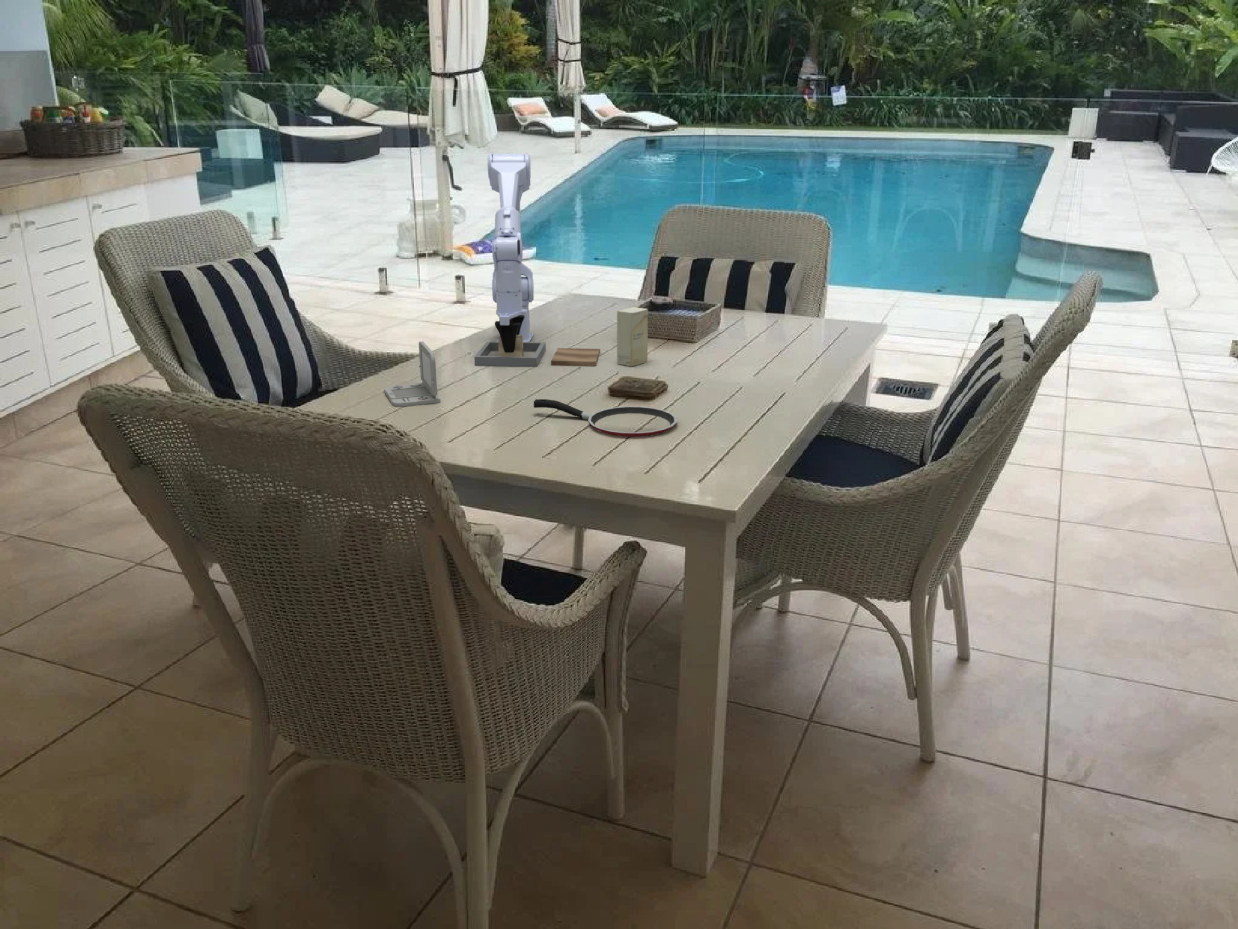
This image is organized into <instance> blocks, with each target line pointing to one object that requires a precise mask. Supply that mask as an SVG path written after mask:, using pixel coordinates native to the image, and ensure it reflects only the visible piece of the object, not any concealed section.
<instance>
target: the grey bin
mask: <svg viewBox="0 0 1238 929" xmlns="http://www.w3.org/2000/svg"><path fill="white" fill-rule="evenodd" d="M483 344H484V345H483V346H482V347H481V348H480V349H479V350H478V351H477V353H476V354H475V355H474V358H473V359H474V366H479V367H482V366H483V367H491V366H492V367H525V368H526V367H529V368H530V367H532V368H533V367H535V368H536V367H538V366H539V365H540V362H541V361H542V359H543V356H544V355H545V352H546V350H547V347H546V346H547V344H546V342H545V341H544V342H542V341H541V342H540V341H530V342H523V352H534V354H533V355H532V356H523V357H516V356H499V355H488V354H489V353H490V352H492V351H494V352H495V351H496V352H497V351H498V352H499V348H498V341H497V340H495V341H493V340H492V341H488V340H487V341H485V343H483Z"/></svg>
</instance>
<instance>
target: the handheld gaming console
mask: <svg viewBox="0 0 1238 929" xmlns="http://www.w3.org/2000/svg"><path fill="white" fill-rule="evenodd" d="M418 355H419V356H418V357H419V366H418V367H419V370H420V373H419V374H420V381H421V382H420V383H419V382H413V383H411V384H409V383H407V384H398V385H387V386H384V388H383V390H384V391H383V392H384V394H385V395H386V397H387V398H388V400H389V401H390V403H391V405H392V406H394V407H400V408H401V407H412V406H421V405H430V404H440V403H441V399H440V398H439V396H438V387H437V386H438V382H437V365H436V364H437V363H436V356H435V353H434V351H432V349H431V348H430V347H429V346H428V345H427V344H426V343H425V342H424V341H419V342H418Z"/></svg>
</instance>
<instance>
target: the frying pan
mask: <svg viewBox="0 0 1238 929" xmlns="http://www.w3.org/2000/svg"><path fill="white" fill-rule="evenodd" d="M533 408H535V409H536V408H538V409H539V408H540V409H541V408H546V409H547V408H548V409H555V410H558V411H560V412H563V413H566V414H568V415H571V416H573V417H577V418H581V419H583V420H587V421H588V422H589V423H590V425H591V426H592V427H593V429H595V430H596V431H598V432H600V433H602V434H604V435H609V436H610V435H611V436H614V437H615V436H616V437H622V438H623V437H625V438H642V437H643V438H644V437H651V436H656V435H661V434H663V433H665V432H668V431H670V430H671V429H672V428H673V427H674V426H675V425H676V424H677V422H678V421H677V420H678V417H677V416H676V415H675V414H673V413H672V412H670V411H668V410H664V409H660V408H655V407H650V406H649V407H648V406H636V405H634V406H630V405H629V406H628V405H627V406H615V407H609V408H603V409H601V410H598V411H596V412H593V413H590V412H587V411H582V410H580V409H578V408H576V407H573V406H571V405H569V404H566V403H564V402H561V401H558V400H555V399H548V398H547V399H541V398H540V399H537V398H536V399H535V400H534V401H533ZM625 414H634V415H635V414H637V415H638V414H640V415H650V416H654V417H659V418H662V419H664V420H666V421H667V422H668V423H669V425H668V426H665V427H664V428H663V427H662V428H660V429H655V430H650V431H649V430H648V431H640V432H637V431H635V432H633V431H631V432H630V431H626V432H625V431H616V430H610V429H607V428H602V427H600V426H599V425H596V423H597V422H598V421H599V420H602V419H603V418H606V417H610V416H614V415H625Z"/></svg>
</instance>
